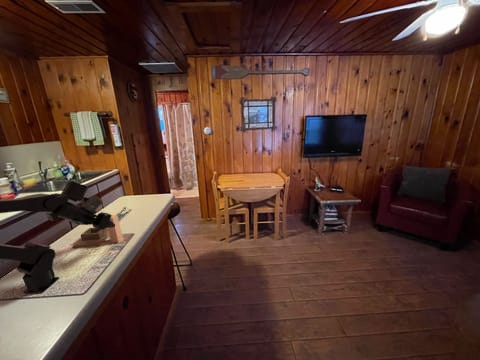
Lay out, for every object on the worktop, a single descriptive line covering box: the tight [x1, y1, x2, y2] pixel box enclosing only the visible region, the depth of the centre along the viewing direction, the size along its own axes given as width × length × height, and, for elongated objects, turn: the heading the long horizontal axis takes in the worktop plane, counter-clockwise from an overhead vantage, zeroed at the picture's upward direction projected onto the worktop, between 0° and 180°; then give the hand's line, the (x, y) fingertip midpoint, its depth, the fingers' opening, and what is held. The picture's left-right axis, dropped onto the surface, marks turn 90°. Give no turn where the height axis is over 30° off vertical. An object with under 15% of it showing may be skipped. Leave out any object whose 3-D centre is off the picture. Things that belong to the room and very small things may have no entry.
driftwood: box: [115, 207, 131, 222], centre depth 121 cm, size 21×7×2 cm, turn 4°
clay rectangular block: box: [107, 214, 124, 244], centre depth 91 cm, size 2×5×12 cm, turn 69°
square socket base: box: [72, 227, 110, 249], centre depth 95 cm, size 14×11×4 cm
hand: (107, 224), depth 88 cm, fingers open, 9 cm apart
